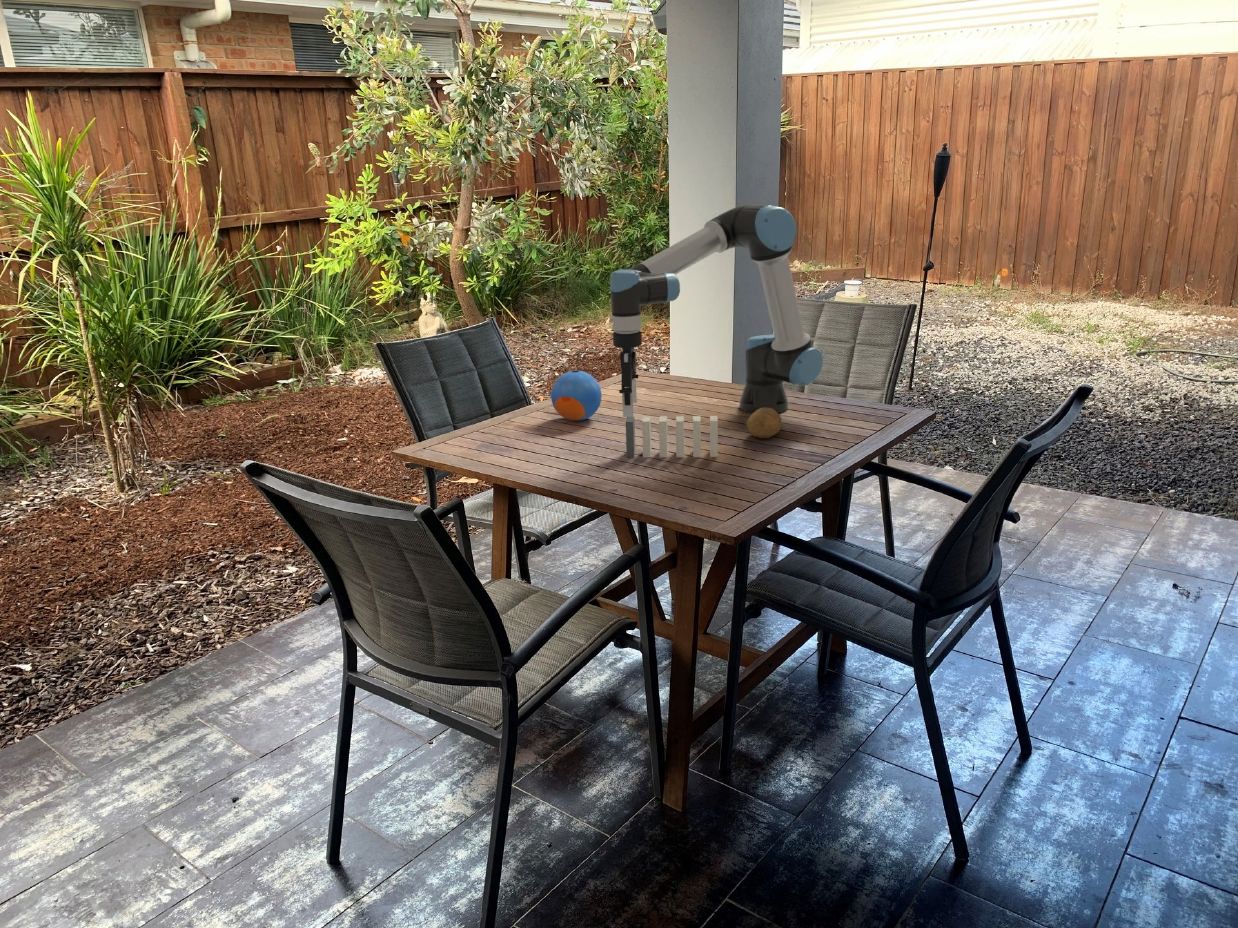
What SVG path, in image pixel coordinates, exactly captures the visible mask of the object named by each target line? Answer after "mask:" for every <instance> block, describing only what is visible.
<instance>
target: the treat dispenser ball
mask: <svg viewBox="0 0 1238 928" xmlns="http://www.w3.org/2000/svg"><path fill="white" fill-rule="evenodd" d="M602 395H603V394H602V390H601V387H600V384H599V382H598V381H597V379H596V378H594V376H593V375H591V374H590V373H587V372H586V371H582V370H570V371H567V372H565V373H563V374H561V375H560V376H558V377H557V379H556V380H555V382H554V384H553V385H552V388H551V393H550V399H551V403H552V406H553V408H554V410H555V411H556V413H557V414H558V415H559V416H561V417H563V418H564V419H565V420H569V421H571V422H580V421H585V420H587V419H589V418H592V416H594V415H595V413H597V412H598V410H599V407H600V406H601V403H602Z"/></svg>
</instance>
